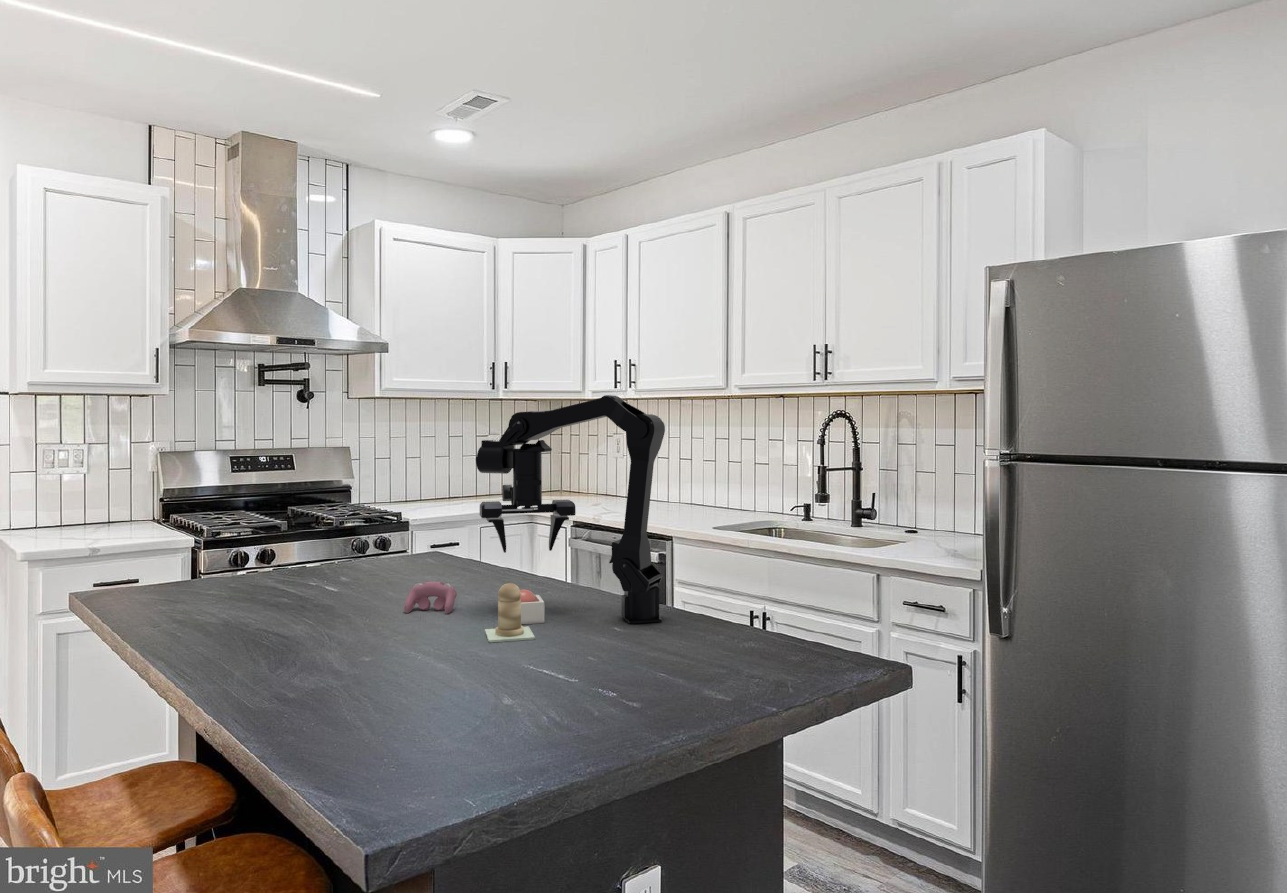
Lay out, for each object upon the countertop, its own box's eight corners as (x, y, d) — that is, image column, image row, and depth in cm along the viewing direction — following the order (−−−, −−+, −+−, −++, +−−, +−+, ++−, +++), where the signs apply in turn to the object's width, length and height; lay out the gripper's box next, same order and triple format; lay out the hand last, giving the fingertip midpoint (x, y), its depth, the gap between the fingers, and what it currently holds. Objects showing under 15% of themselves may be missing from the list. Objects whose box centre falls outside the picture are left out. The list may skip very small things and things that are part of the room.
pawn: (521, 629, 155) (521, 580, 155) (525, 635, 150) (525, 585, 150) (494, 630, 154) (493, 581, 154) (497, 637, 149) (496, 586, 149)
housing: (538, 614, 168) (538, 594, 168) (544, 623, 161) (544, 602, 161) (503, 617, 166) (503, 596, 166) (507, 625, 159) (507, 604, 159)
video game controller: (456, 618, 172) (460, 584, 175) (449, 612, 168) (454, 578, 171) (408, 617, 173) (413, 583, 176) (401, 611, 169) (406, 577, 172)
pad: (528, 628, 157) (528, 626, 157) (535, 639, 149) (535, 637, 149) (484, 631, 155) (484, 629, 155) (488, 642, 147) (488, 640, 147)
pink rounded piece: (534, 613, 167) (534, 586, 167) (538, 619, 162) (538, 591, 162) (508, 615, 165) (508, 587, 165) (512, 621, 161) (511, 592, 161)
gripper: (565, 471, 181) (566, 544, 182) (477, 472, 176) (477, 547, 177) (575, 474, 171) (576, 551, 171) (481, 476, 166) (482, 555, 166)
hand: (527, 551), depth 172 cm, fingers open, 9 cm apart
